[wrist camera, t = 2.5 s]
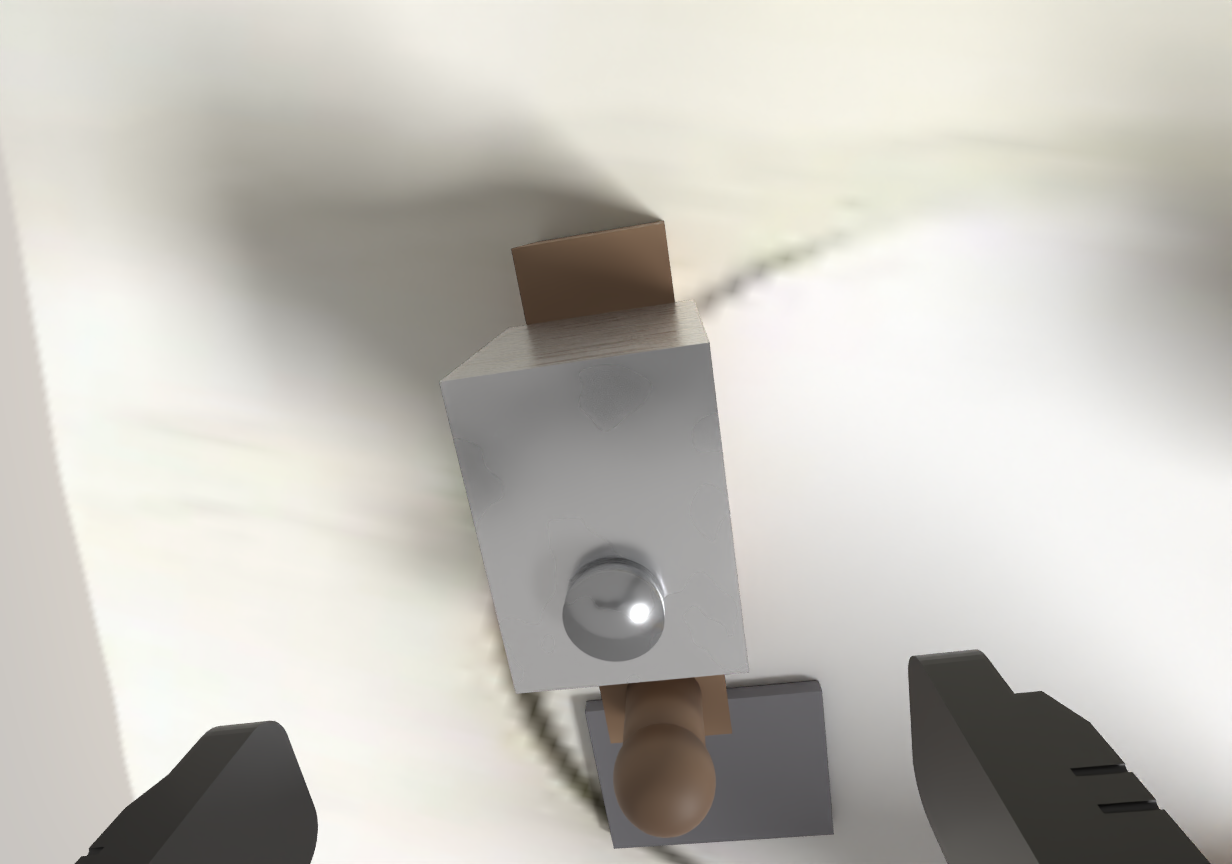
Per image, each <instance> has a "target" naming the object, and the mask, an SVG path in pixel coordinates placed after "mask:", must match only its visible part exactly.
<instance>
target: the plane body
mask: <svg viewBox="0 0 1232 864" xmlns="http://www.w3.org/2000/svg"><path fill="white" fill-rule="evenodd" d="M511 250H512V255H513V260H514V265H515V270H516V275H517V280H518V285H519V290H520V295H521V300H522V305H523V310H524V315H525V320H526V325H529V324H536V323H542V322H549V321H555V320H562V319H568V318H575V317H581V316H588V315H594V314H601V313H607V312H614V311H620V310H627V309H633V308H640V307H647V306H653V305H660V304H666V303H673V302H675V300H674V292H673V285H672V277H671V270H670V262H669V255H668V247H667V240H666V232H665V225H664V221H658V222H652V223H646V224H640V225H634V226H628V227H622V228H616V229H610V230H604V231H598V232H593V233H587V234H581V235H575V236H569V237H563V238H557V239H551V240H545V241H539V242H535V243H531V244H527V245H523V246H520V247H516V248H512V249H511ZM599 688H600V692H601V697H602V702H603V707H604V712H605V717H606V722H607V727H608V732H609V737H610V742H611V743H623V746H622V747H621V749H620V751H619V753H618V755H617V758H616V761H615V765H614V771H613V785H614V792H615V796H616V799H617V802H618V804H619V806H620V808H621V810H622V812H623V813H624V815H625V816H626V818H627V819H628V820H629V821H630V822H631V823H632V824H633V825H634V826H635V827H637V828H638V829H639V830H641V831H643V832H644V833H646V834H649V835H652V836H655V837H661V838H671V837H677V836H681V835H683V834H686V833H688V832H689V831H691V830H692V829H694V828H695V827H696V826H698V825H699V824H700V822H701V821H702V820H703V819H704V818H705V816H706V815H707V813H708V811H709V810H710V807H711V805H712V802H713V799H714V795H715V788H716V775H715V769H714V765H713V762H712V759H711V756H710V754H709V752H708V750H707V749H706V744H705V736H708V735H720V734H732V727H731V720H730V712H729V705H728V697H727V690H726V682H725V675H713V676H702V677H691V678H680V679H669V680H658V681H648V682H637V683H626V684H615V685H604V686H599Z"/></svg>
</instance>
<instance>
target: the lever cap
mask: <svg viewBox="0 0 1232 864" xmlns="http://www.w3.org/2000/svg"><path fill="white" fill-rule="evenodd" d="M439 383H440V387H441V391H442V395H443V400H444V404H445V408H446V412H447V416H448V420H449V424H450V428H451V432H452V436H453V440H454V444H455V448H456V452H457V456H458V460H459V464H460V468H461V473H462V477H463V481H464V485H465V489H466V493H467V497H468V501H469V505H470V509H471V513H472V517H473V521H474V525H475V529H476V533H477V537H478V541H479V545H480V550H481V554H482V558H483V562H484V566H485V570H486V574H487V578H488V582H489V586H490V590H491V594H492V598H493V602H494V606H495V610H496V614H497V618H498V622H499V627H500V631H501V635H502V639H503V643H504V647H505V651H506V655H507V659H508V663H509V667H510V671H511V675H512V679H513V683H514V687H515V691H516V694H517V693H528V692H539V691H550V690H561V689H572V688H583V687H593V686H604V685H615V684H626V683H637V682H648V681H658V680H669V679H680V678H691V677H702V676H713V675H724V674H734V673H745V672H749V668H748V660H747V652H746V643H745V635H744V627H743V618H742V610H741V602H740V593H739V585H738V577H737V568H736V560H735V552H734V543H733V535H732V527H731V518H730V510H729V502H728V493H727V485H726V477H725V468H724V460H723V452H722V443H721V435H720V427H719V418H718V410H717V402H716V393H715V385H714V377H713V368H712V360H711V352H710V343H709V340H708V337H707V334H706V331H705V329H704V326H703V323H702V320H701V318H700V315H699V312H698V309H697V306H696V304H695V301H694V299H692V300H686V301H679V302H673V303H666V304H660V305H653V306H647V307H640V308H633V309H627V310H620V311H614V312H607V313H601V314H594V315H588V316H581V317H575V318H568V319H562V320H555V321H549V322H542V323H536V324H529V325H523V326H516V327H510V328H507V329H506V330H505V331H504V332H502V333H501V334H500V335H498V336H497V337H496V338H495V339H493V340H492V341H491V342H490V343H488V344H487V345H486V346H484V347H483V348H482V349H481V350H479V351H478V352H477V353H475V354H474V355H473V356H472V357H470V358H469V359H468V360H466V361H465V362H464V363H463V364H461V365H460V366H459V367H457V368H456V369H455V370H454V371H452V372H451V373H450V374H448V375H447V376H446V377H445V378H443V379H442V380H441V381H439Z"/></svg>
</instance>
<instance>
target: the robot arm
mask: <svg viewBox="0 0 1232 864" xmlns="http://www.w3.org/2000/svg"><path fill="white" fill-rule="evenodd" d="M908 678H909V696H910V715H911V734H912V753H913V765H914V772H915V777H916V782H917V786H918V790H919V794H920V797H921V801H922V804H923V807H924V810H925V813H926V815H927V818H928V820H929V823H930V825H931V827H932V829H933V832H934V834H935V836H936V838H937V841H938V843H939V845H940V847H941V850H942V852H943V854H944V856H945V859H946V861H947V863H948V864H1210V863H1209V861H1208V860H1207V859H1206V858H1205V857H1204V856H1203V854H1202V853H1201V852H1200V851H1199V850H1198V848H1197V847H1196V846H1195V845H1194V844H1193V843H1192V841H1191V840H1190V839H1189V838H1188V837H1187V836H1186V834H1185V833H1184V832H1183V831H1182V830H1181V829H1180V827H1179V826H1178V825H1177V824H1176V823H1175V822H1174V820H1173V819H1172V818H1171V817H1170V816H1169V815H1168V813H1167V812H1166V811H1165V810H1160V809H1159V808H1158V806H1157V803H1156V799H1155V798H1154V797H1153V796H1152V795H1151V793H1150V792H1149V791H1148V790H1147V789H1146V788H1145V786H1144V785H1143V784H1142V783H1141V782H1140V781H1139V779H1138V778H1137V777H1136V776H1135V775H1134V774H1133V772H1128V771H1127V769H1126V767H1125V763H1124V762H1123V761H1122V759H1121V758H1120V757H1119V756H1118V755H1117V754H1116V752H1115V751H1114V750H1113V749H1112V748H1111V747H1110V745H1109V744H1108V743H1107V742H1106V741H1105V740H1104V738H1103V737H1102V736H1101V735H1100V734H1099V733H1098V731H1097V730H1096V729H1095V728H1094V727H1093V726H1092V724H1091V723H1090V722H1088V721H1087V720H1085V719H1084V718H1082V717H1081V716H1079V715H1078V714H1076V713H1075V712H1073V711H1071V710H1070V709H1068V708H1067V707H1065V706H1064V705H1062V704H1061V703H1059V702H1058V701H1056V700H1055V699H1053V698H1052V697H1050V696H1048V695H1047V694H1045V693H1044V692H1042V691H1037V692H1027V693H1016V694H1014V693H1013V691H1012V690H1011V689H1010V687H1009V686H1008V685H1007V683H1006V682H1005V681H1004V679H1003V678H1002V677H1001V675H1000V674H999V673H998V671H997V670H996V669H995V667H994V666H993V665H992V663H991V662H990V660H989V659H988V658H987V657H986V656H985V654H984V653H982V652H981V651H979V650H966V651H956V652H947V653H937V654H927V655H918V656H912V657H911V658H910V660H909V665H908ZM317 833H318V822H317V814H316V810H315V807H314V804H313V801H312V799H311V796H310V794H309V791H308V788H307V786H306V783H305V780H304V778H303V775H302V772H301V770H300V767H299V764H298V762H297V759H296V757H295V754H294V751H293V749H292V746H291V743H290V741H289V738H288V735H287V733H286V731H285V729H284V728H283V727H282V726H281V725H280V724H279V723H277V722H275V721H264V722H254V723H245V724H235V725H225V726H218V727H215V728H212V729H210V730H209V731H208V732H206V733H205V734H204V735H203V736H202V737H201V738H200V739H199V741H198V742H197V743H196V744H195V745H194V746H193V747H192V748H191V750H190V751H189V752H188V753H187V754H186V755H185V756H184V757H183V759H182V760H181V761H180V762H179V763H178V764H177V765H176V767H175V768H174V769H173V770H172V771H171V772H170V773H169V774H168V775H167V776H166V777H165V778H163V779H162V780H161V781H159V782H158V783H157V784H156V785H154V786H153V787H152V788H150V789H149V790H148V791H147V792H145V793H144V794H143V795H141V796H140V797H139V798H138V799H136V800H135V801H134V802H132V803H131V804H130V805H129V806H127V807H126V808H125V809H124V810H123V811H122V812H121V813H120V814H119V816H118V817H117V818H116V819H115V820H114V821H113V822H112V823H111V824H110V826H109V827H108V828H107V829H106V830H105V831H104V832H103V833H102V834H101V835H100V837H99V838H98V839H97V840H96V841H95V842H94V843H93V844H92V845H91V847H90V848H89V853H88V855H87V856H82V857H80V859H79V860H78V861H77V862H76V863H75V864H310V863H311V860H312V857H313V854H314V851H315V847H316V841H317Z"/></svg>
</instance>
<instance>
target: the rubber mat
mask: <svg viewBox="0 0 1232 864" xmlns="http://www.w3.org/2000/svg"><path fill="white" fill-rule="evenodd" d="M726 690H727V697H728V705H729V712H730V720H731V727H732V734H720V735H708V736H705V744H706V749H707V750H708V752H709V754H710V756H711V759H712V762H713V765H714V769H715V775H716V788H715V795H714V799H713V802H712V805H711V807H710V810H709V811H708V813H707V815H706V816H705V818H704V819H703V820H702V821H701V822H700V824H699V825H698V826H696V827H695V828H694V829H692V830H691V831H689V832H688V833H686V834H683V835H681V836H677V837H671V838H661V837H655V836H652V835H649V834H646V833H644V832H643V831H641V830H639V829H638V828H637V827H635V826H634V825H633V824H632V823H631V822H630V821H629V820H628V819H627V818H626V816H625V815H624V813H623V812H622V810H621V808H620V806H619V804H618V802H617V799H616V796H615V792H614V785H613V771H614V765H615V761H616V758H617V755H618V753H619V751H620V749H621V747H622V746H623V743H611V742H610V737H609V732H608V727H607V722H606V717H605V712H604V707H603V702H602V700H595V701H587V703H586V709H585V714H586V719H587V723H588V728H589V733H590V737H591V742H592V747H593V752H594V756H595V761H596V766H597V771H598V775H599V780H600V785H601V789H602V794H603V799H604V804H605V808H606V813H607V818H608V822H609V827H610V832H611V837H612V841H613V846H614V849H615V848H631V847H646V846H661V845H677V844H692V843H707V842H723V841H738V840H753V839H769V838H784V837H799V836H815V835H830V834H834V833H833V821H832V808H831V796H830V784H829V772H828V760H827V747H826V735H825V723H824V711H823V699H822V690H821V687H820V684H819V681H807V682H795V683H784V684H773V685H762V686H751V687H740V688H729V689H726Z"/></svg>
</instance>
